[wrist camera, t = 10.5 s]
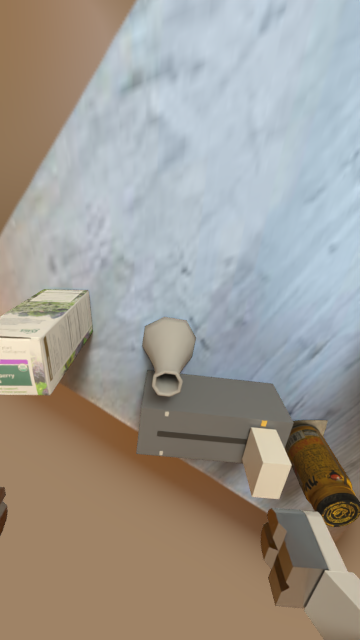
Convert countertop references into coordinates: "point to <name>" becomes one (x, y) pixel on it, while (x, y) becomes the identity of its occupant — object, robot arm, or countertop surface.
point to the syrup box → (42, 340)
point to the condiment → (321, 474)
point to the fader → (265, 463)
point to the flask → (168, 352)
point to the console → (209, 418)
